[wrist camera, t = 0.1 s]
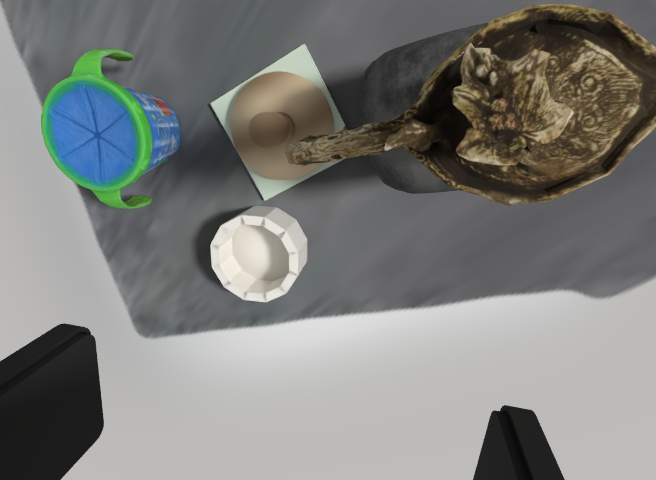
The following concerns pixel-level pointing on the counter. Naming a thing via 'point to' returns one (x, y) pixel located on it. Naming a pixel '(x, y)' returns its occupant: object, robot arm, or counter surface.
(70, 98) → the snack cup
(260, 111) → the lid
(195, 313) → the counter surface
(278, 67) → the mat
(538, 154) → the pitcher
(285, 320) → the counter surface
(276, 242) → the bowl
